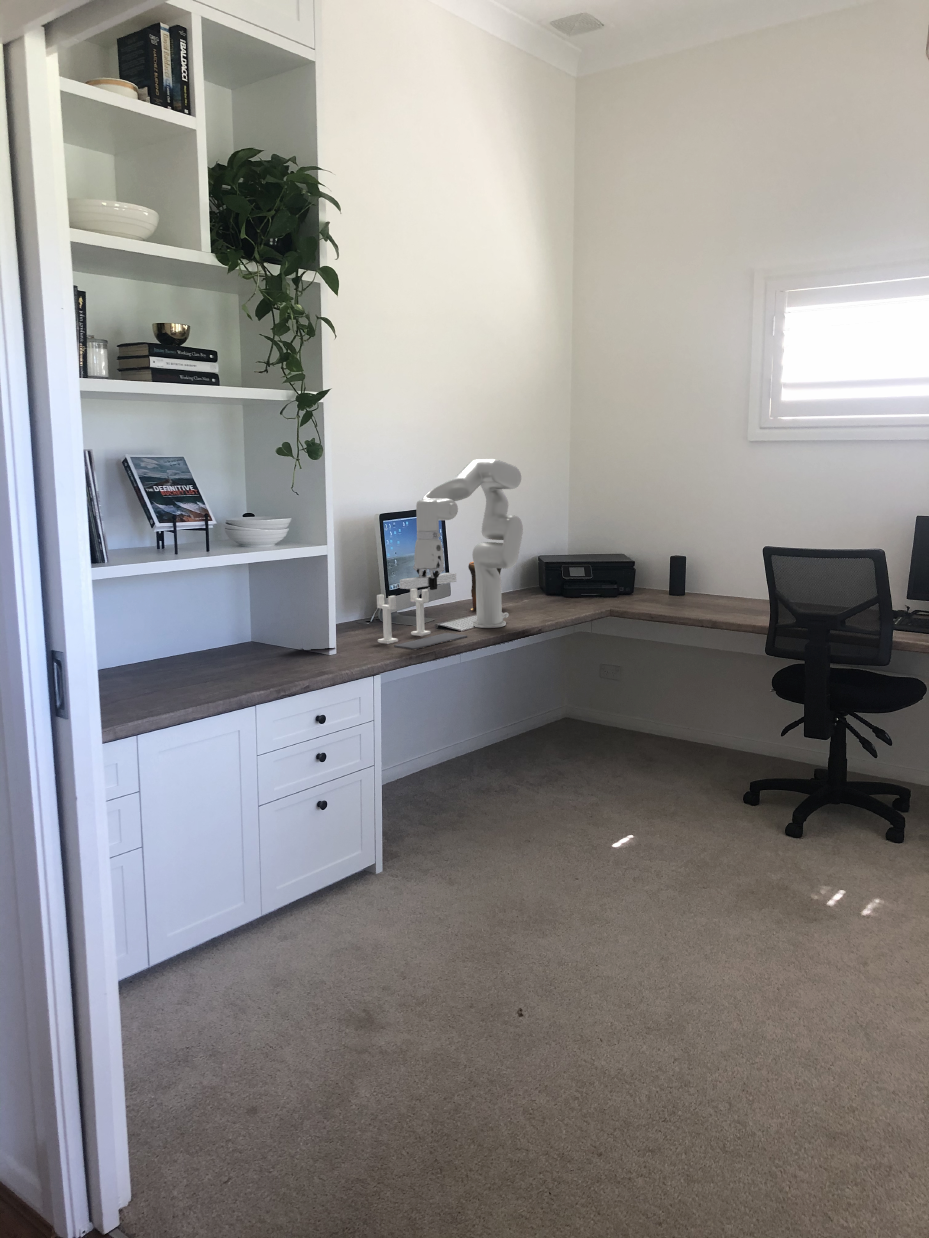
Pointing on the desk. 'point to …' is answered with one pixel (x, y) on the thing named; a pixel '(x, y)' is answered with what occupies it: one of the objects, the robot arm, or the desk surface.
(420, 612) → the hook standards
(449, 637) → the mat
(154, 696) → the desk surface
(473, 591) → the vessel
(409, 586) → the rail
